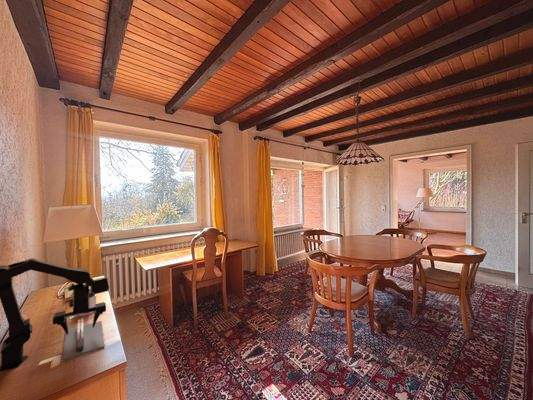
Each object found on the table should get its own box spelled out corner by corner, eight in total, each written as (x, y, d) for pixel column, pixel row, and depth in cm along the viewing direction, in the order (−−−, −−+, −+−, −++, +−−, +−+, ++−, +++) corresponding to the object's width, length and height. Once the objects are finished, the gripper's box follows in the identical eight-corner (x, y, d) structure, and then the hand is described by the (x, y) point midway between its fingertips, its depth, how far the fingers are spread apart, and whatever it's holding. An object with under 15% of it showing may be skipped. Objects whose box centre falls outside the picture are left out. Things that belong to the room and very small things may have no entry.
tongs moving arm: (83, 346, 98) (83, 337, 98) (80, 347, 98) (80, 338, 98) (83, 325, 114) (83, 318, 114) (80, 326, 114) (81, 319, 114)
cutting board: (104, 347, 100) (104, 345, 100) (62, 361, 91) (62, 359, 91) (101, 322, 120) (101, 320, 120) (66, 332, 111) (66, 330, 111)
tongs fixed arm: (83, 350, 96) (83, 340, 96) (75, 352, 95) (76, 342, 95) (83, 326, 114) (84, 317, 114) (77, 327, 113) (77, 319, 113)
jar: (74, 313, 129) (74, 292, 129) (90, 307, 136) (91, 287, 136) (81, 317, 125) (81, 295, 125) (98, 311, 132) (98, 290, 132)
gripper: (104, 287, 117) (104, 317, 117) (55, 296, 105) (55, 329, 105) (106, 294, 108) (105, 326, 108) (52, 305, 96) (52, 341, 96)
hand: (80, 330), depth 104 cm, fingers open, 9 cm apart
